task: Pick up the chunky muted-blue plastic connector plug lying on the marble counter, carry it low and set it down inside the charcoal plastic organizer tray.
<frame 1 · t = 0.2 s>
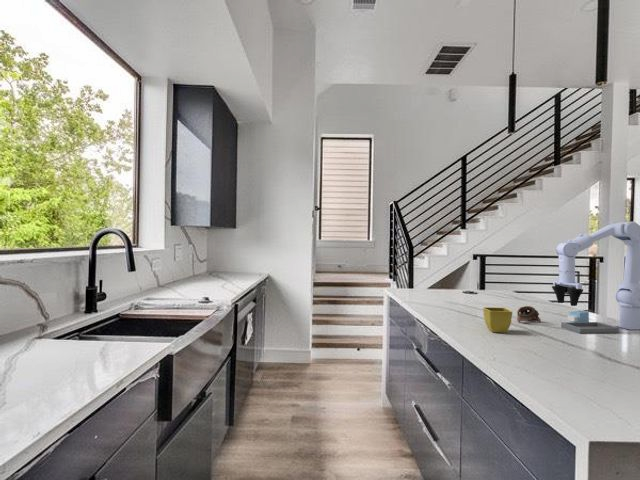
hand: (567, 304, 168), 10 cm above the counter, fingers open, 7 cm apart
tray: (589, 330, 164), on the counter
connector: (579, 323, 177), on the counter
flower pot: (497, 332, 162), on the counter
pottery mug: (527, 322, 180), on the counter
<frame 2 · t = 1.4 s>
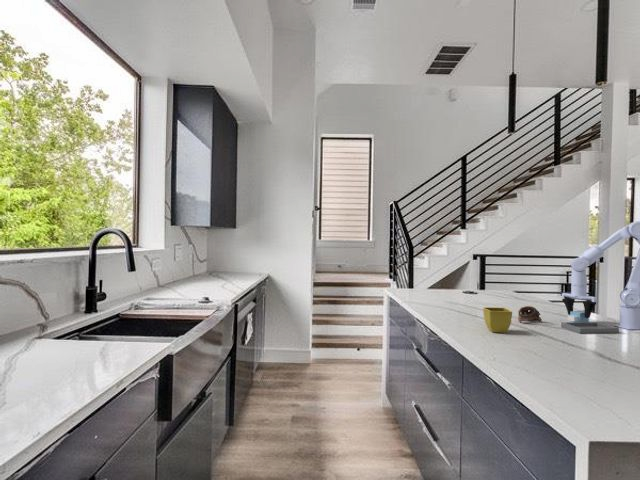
hand: (578, 316, 177), 3 cm above the counter, fingers open, 7 cm apart
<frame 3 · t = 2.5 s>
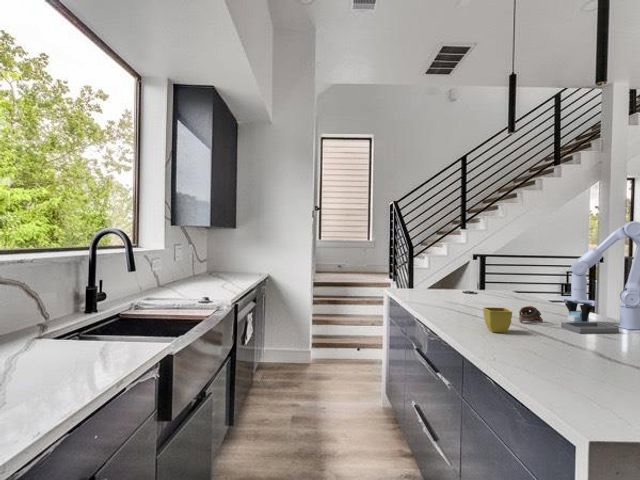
hand: (578, 320, 177), 1 cm above the counter, fingers closed on connector, 4 cm apart
connector: (578, 323, 177), on the counter, touching gripper
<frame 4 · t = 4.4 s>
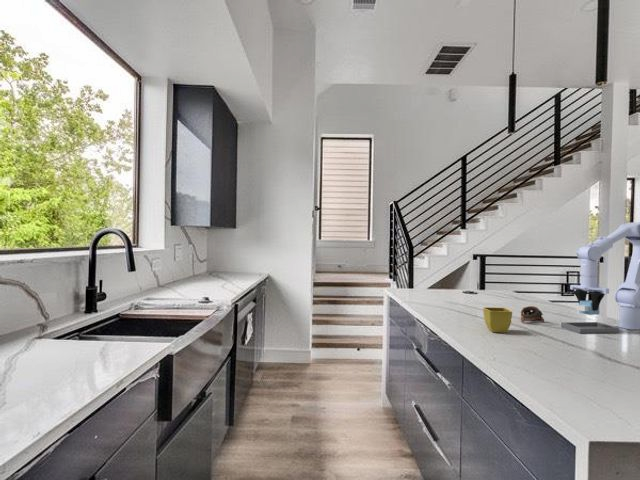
hand: (588, 309, 164), 8 cm above the counter, fingers closed on connector, 4 cm apart
connector: (588, 313, 164), point 7 cm above the counter, touching gripper
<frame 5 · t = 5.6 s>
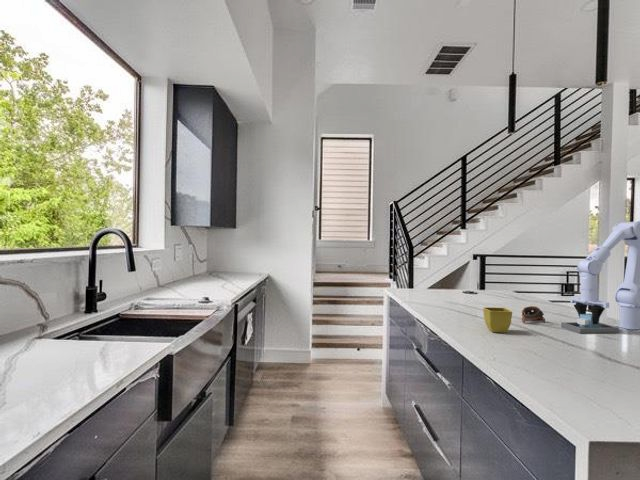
hand: (589, 322, 164), 3 cm above the counter, fingers closed on connector, 4 cm apart
connector: (588, 327, 164), point 1 cm above the counter, touching gripper
when the fingers open (3 cm above the counter, at t = 6.3 s): connector stays where it is, resting on tray.
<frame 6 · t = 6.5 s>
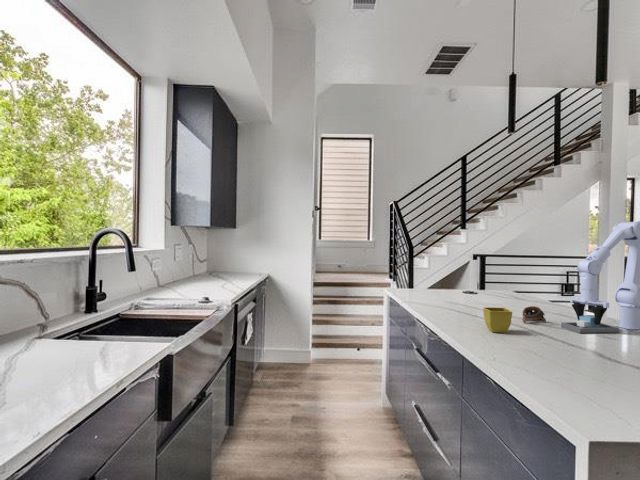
hand: (589, 322, 164), 3 cm above the counter, fingers open, 6 cm apart
connector: (588, 328, 164), resting on tray
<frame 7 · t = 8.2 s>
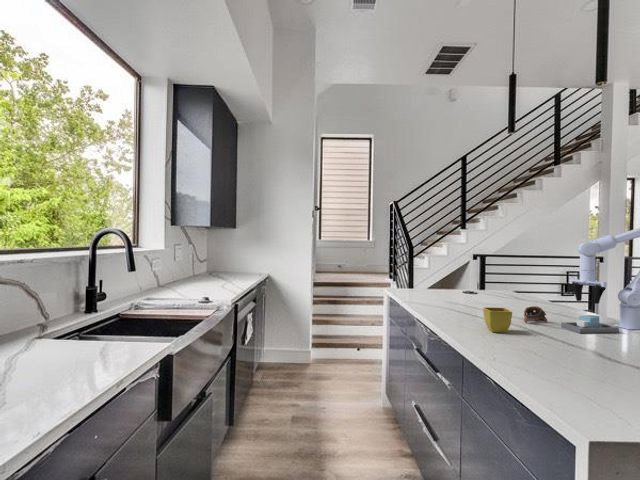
hand: (587, 302, 173), 10 cm above the counter, fingers open, 7 cm apart
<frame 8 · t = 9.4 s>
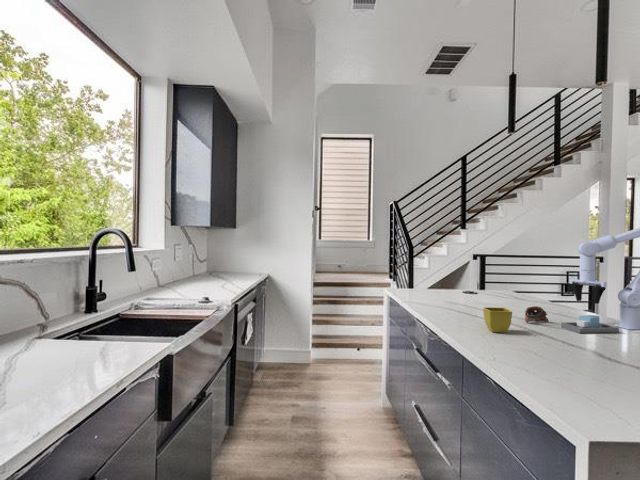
hand: (587, 302, 173), 10 cm above the counter, fingers open, 7 cm apart
at the end: connector inside the target area on the tray (0.1 cm from its centre), point 0.5 cm above the tray's base; connector tilted 0°; the gripper is holding nothing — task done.
